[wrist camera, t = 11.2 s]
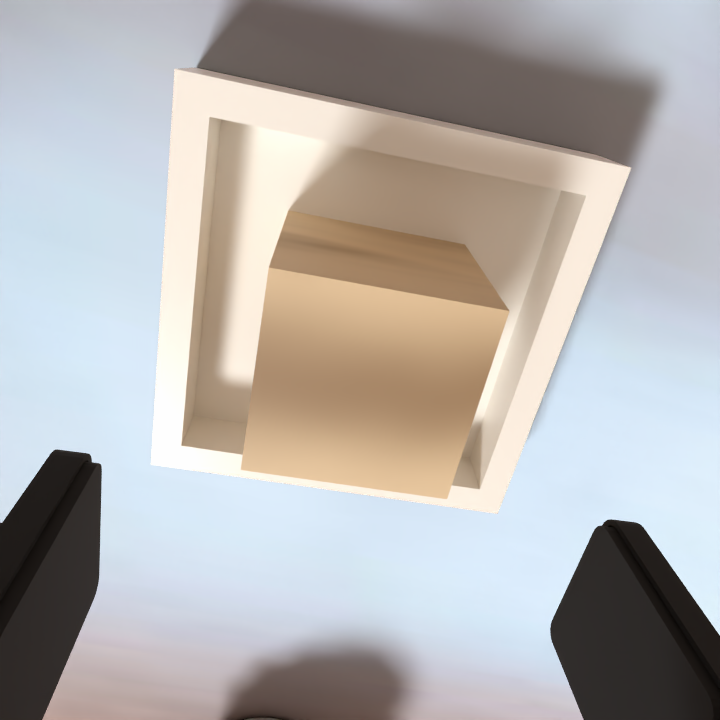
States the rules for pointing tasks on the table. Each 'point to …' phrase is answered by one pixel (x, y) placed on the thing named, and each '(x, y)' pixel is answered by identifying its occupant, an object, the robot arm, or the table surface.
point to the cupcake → (262, 719)
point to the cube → (369, 357)
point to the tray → (371, 208)
